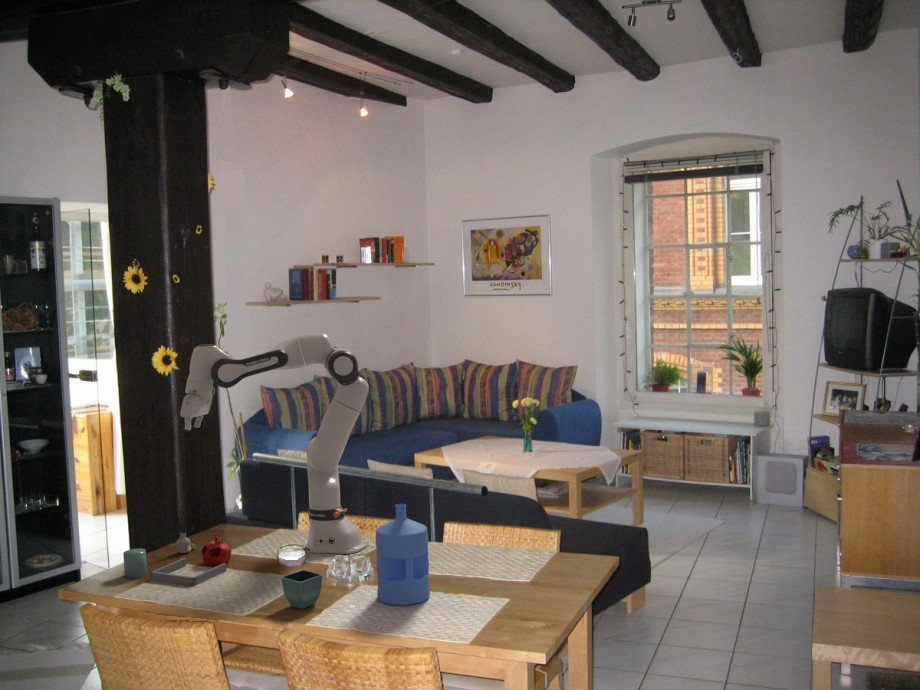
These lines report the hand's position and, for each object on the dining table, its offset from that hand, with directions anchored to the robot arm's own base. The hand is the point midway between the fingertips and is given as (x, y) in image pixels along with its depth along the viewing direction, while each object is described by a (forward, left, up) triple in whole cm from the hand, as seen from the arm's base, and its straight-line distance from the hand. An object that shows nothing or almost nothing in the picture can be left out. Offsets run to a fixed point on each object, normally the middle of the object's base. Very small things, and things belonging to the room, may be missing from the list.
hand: (192, 428), depth 317 cm
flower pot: (-64, +29, -45) cm, 84 cm away
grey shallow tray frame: (-12, +17, -45) cm, 50 cm away
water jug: (-89, +13, -45) cm, 101 cm away
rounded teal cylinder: (+5, +24, -45) cm, 52 cm away
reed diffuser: (+8, -2, -45) cm, 46 cm away
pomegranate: (-12, +4, -46) cm, 47 cm away
